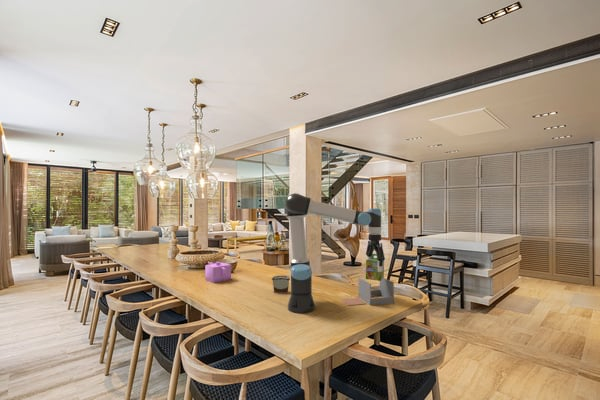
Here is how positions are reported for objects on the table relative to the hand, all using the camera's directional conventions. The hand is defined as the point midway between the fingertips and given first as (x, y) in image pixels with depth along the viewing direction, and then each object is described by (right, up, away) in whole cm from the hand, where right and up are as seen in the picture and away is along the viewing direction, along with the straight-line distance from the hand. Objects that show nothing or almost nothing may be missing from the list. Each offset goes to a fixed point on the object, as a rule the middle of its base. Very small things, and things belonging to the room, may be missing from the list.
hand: (374, 269), depth 181 cm
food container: (-58, -20, +20) cm, 64 cm away
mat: (-14, -18, -4) cm, 23 cm away
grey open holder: (0, -18, 0) cm, 18 cm away
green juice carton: (0, -6, 0) cm, 6 cm away
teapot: (-110, -21, +54) cm, 125 cm away
